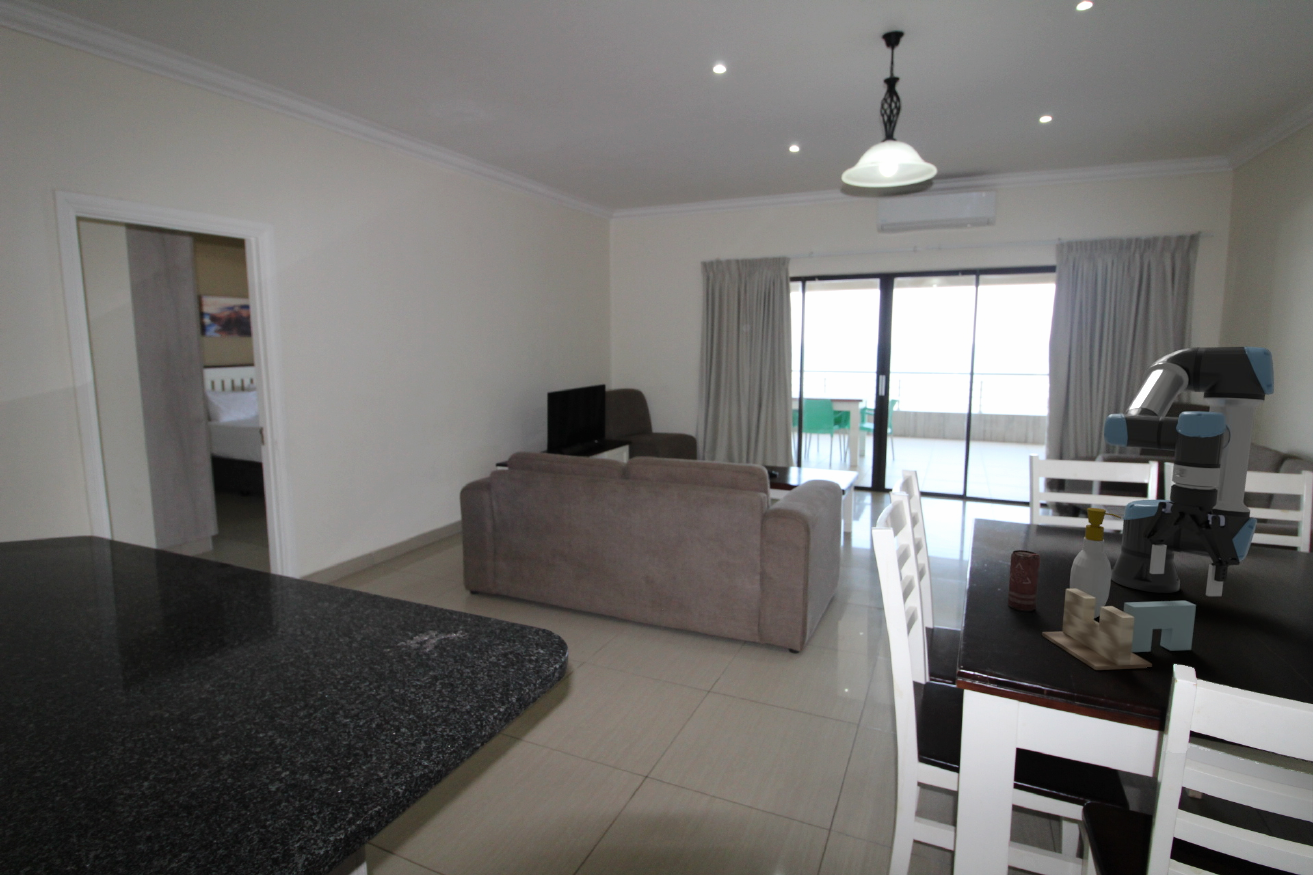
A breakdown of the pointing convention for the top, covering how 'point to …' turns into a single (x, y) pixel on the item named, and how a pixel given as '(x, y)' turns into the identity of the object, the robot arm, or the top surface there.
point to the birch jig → (1096, 634)
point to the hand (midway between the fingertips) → (1183, 584)
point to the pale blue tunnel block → (1162, 624)
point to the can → (1023, 580)
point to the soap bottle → (1093, 562)
